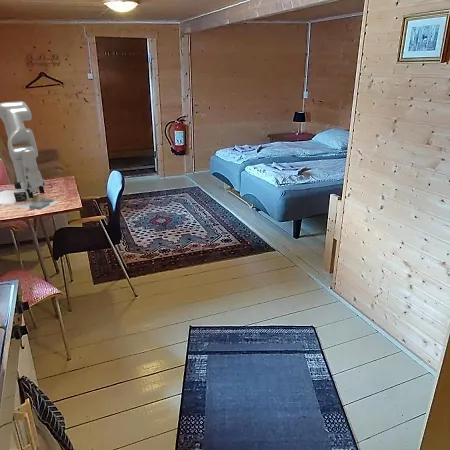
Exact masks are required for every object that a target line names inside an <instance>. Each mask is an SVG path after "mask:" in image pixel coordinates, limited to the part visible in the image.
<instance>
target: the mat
mask: <svg viewBox="0 0 450 450" xmlns="http://www.w3.org/2000/svg"><path fill="white" fill-rule="evenodd" d="M35 203H37V202H27V203H23V204H22V205H19V206H17V207H16V208H17V209H31V210H34V209H33V208H29V206H30V205H32V204H35ZM59 203H61V200H54V201H53V202H51V203H49V205H48V206H46V207H44V208H42V209H41V210H45V209H49V208H50V207H53V206H54V205H56V204H59Z"/></svg>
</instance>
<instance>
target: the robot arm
mask: <svg viewBox="0 0 450 450" xmlns="http://www.w3.org/2000/svg"><path fill="white" fill-rule="evenodd" d="M32 117H33V116H32V111H31V109H30V108H29V105H28V104H27V103H26V102H25V101H21V100H19V101H6V102H0V119H1V121H2V122H3V125H4V128H5V133H6V136H7V149H8V153H9V156H10V159H11V161H12V165H13V168H14V172H15V176H16V180H17V182H16V183H18V182H23V183H25V185H24V187H23V188H24V189H25V191H27V192H28V196H29V198H34V196H33V195H34V193H35V192H36V191H38V190H39V191H38V192H39V193H40V194H45V189H44V187H45V184H46V183H45V179H44V178H43V176H42V174H41V171H40V170H39V166H38V163H37V157H38V156H39V151H38V147H37V143H36V139H35V135H34V133H33V132H34V131H33V130H32V129H31V128H29V127H28V128H27V127H26V126H25V123H24V122H27V121H31V120H32ZM18 144H20V145H18ZM21 144H22V145H21ZM14 145H15V146H14Z"/></svg>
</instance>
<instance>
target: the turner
mask: <svg viewBox="0 0 450 450" xmlns="http://www.w3.org/2000/svg"><path fill="white" fill-rule="evenodd" d="M33 196H34V198H29V200H28V201H29V202H48V203H51V202H53V201H55V200H54V199H45V196H44V195H37V194H35V195H34V194H33ZM28 197H29V196H28ZM29 202H28V203H29Z"/></svg>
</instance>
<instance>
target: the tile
mask: <svg viewBox="0 0 450 450" xmlns="http://www.w3.org/2000/svg"><path fill="white" fill-rule="evenodd" d="M48 205H49V203H48V202H37V203H35V204H32V205H30V206H29V208H33V209H32V210H42V208H44V207H46V206H48ZM29 208H28V209H29Z"/></svg>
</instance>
